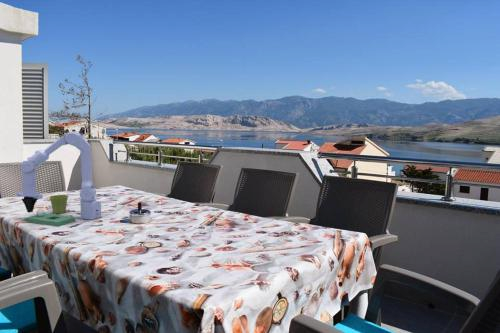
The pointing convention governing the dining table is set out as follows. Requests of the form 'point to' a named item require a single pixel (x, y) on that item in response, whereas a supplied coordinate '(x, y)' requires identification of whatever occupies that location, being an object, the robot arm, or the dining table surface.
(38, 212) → the ball
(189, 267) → the dining table surface
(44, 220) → the putting mat
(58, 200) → the plant pot
